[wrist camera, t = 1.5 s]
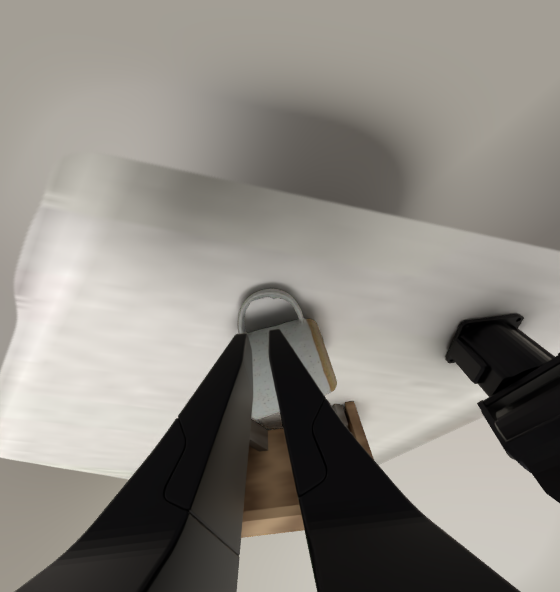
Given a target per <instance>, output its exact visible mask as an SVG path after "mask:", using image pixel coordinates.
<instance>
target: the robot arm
mask: <svg viewBox="0 0 560 592" xmlns="http://www.w3.org/2000/svg"><path fill="white" fill-rule="evenodd" d="M523 319H524V317H523V316H521V315H520V314H514V315H506V316H498V317H491V318H483V319H475V320H468V321H464V322H462V323H461V324H460V326H459V328H458V330H457V333H456V335H455V337H454V340H453V342H452V344H451V347H450V349H449V351H448V354H447V356H446V359H445V360H446V361H447V362H448V363H457V365H458V366H459V367H460V368H461V369H462V370H463V372H464V373H465V374H466V375H467V376H468V377H469V379H470V380H471V381H472V382H473V383H474V384H478V385H479V386H480V387H481V388H482V389H483V390H484V391H485V393H486V394H487V395H488V396H489V398H487V399H485V400H484V401H483V400H481V401H480V402H478V403H477V404H478V406H479V407H480V409H481V412H482V414H483V415H484V417H485V418H486V420H487V422H488V424H489V425H490V427H491V428H492V430H493V432H494V433H495V435H496V437H497V438H498V440H499V441H500V443H501V445H502V446H503V448H504V449H505V451H506V453H507V454H508V455H509V457H510V458H512V459H515V460H516V461H517V462H518V463H520V465H521V466H523V467H524V468H525V469H526V470H528V471H529V472H530V473H532V474H533V476H534V477H535V478H536V480H537V481H538V483H539V484H540V486H541V487H542V488H543V490H544V491H545V492H546V493H547V494H548V495H549V496H551V497H552V498H553V499H555V500H556V501H557V502H559V503H560V353H558V356H556V357H555V356H553V355H552V354H551V353H549V352H548V351H547V350H545V349H544V348H543V347H541V346H540V345H539V344H537V343H536V342H535V341H534V340H532V339H531V338H530V337H528V336H527V335H526V334H524V333H523V332H522V331H520V330H519V329H518V327H519V325H520V324H521V322H522V321H523ZM268 356H269V362H270V367H271V372H272V377H273V381H274V386H275V391H276V396H277V400H278V405H279V410H280V415H281V420H282V424H283V429H284V434H285V439H286V443H287V448H288V453H289V458H290V463H291V467H292V472H293V477H294V482H295V487H296V491H297V496H298V501H299V506H300V510H301V515H302V520H303V525H304V530H305V534H306V539H307V544H308V549H309V554H310V558H311V563H312V568H313V573H314V578H315V583H316V588H317V592H520V591H519V590H518V589H516V588H515V587H514V586H512V585H511V584H510V583H509V582H508V581H506V580H505V579H504V578H502V577H501V576H500V575H499V574H497V573H496V572H495V571H494V570H492V569H491V568H490V567H489V566H487V565H486V564H485V563H484V562H482V561H481V560H480V559H479V558H477V557H476V556H475V555H474V554H472V553H471V552H470V551H469V550H467V549H466V548H465V547H464V546H462V545H461V544H460V543H458V542H457V541H456V540H454V539H453V538H452V537H451V536H450V535H448V534H447V533H446V532H445V531H443V530H442V529H441V528H440V527H438V526H437V525H436V524H434V523H433V522H432V521H431V520H430V519H428V518H427V517H426V516H425V515H424V514H423V513H421V512H420V511H419V510H418V509H417V508H416V507H415V506H414V505H413V504H412V503H411V502H410V501H409V500H408V499H407V498H406V497H405V495H404V494H403V493H402V492H401V491H400V490H399V489H398V488H397V487H396V486H395V484H394V483H393V482H392V481H391V480H390V478H389V477H388V476H387V475H386V474H385V473H384V471H383V470H382V469H381V468H380V467H379V465H378V464H377V463H376V462H375V461H374V460H373V458H372V457H371V456H370V455H369V454H368V453H367V451H366V450H365V449H364V448H363V447H362V446H361V444H360V443H359V442H358V441H357V440H356V438H355V437H354V436H353V435H352V433H351V432H350V431H349V430H348V428H347V427H346V426H345V425H344V423H343V422H342V420H341V419H340V418H339V416H338V415H337V413H336V412H335V411H334V409H333V408H332V406H331V405H330V403H329V402H328V400H327V399H326V398H325V396H324V394H323V393H322V391H321V390H320V388H319V387H318V385H317V384H316V382H315V381H314V379H313V378H312V376H311V375H310V373H309V372H308V370H307V369H306V367H305V366H304V364H303V363H302V361H301V360H300V358H299V357H298V355H297V354H296V352H295V351H294V349H293V348H292V346H291V345H290V343H289V342H288V340H287V339H286V337H285V336H284V334H283V333H282V331H281V330H280V329H271V330H269V332H268ZM252 406H253V362H252V349H251V345H250V341H249V337H248V334H247V333H241V334H236V335H235V336H234V337H233V339H232V340H231V342H230V343H229V344H228V346H227V347H226V349H225V350H224V352H223V353H222V354H221V356H220V357H219V359H218V360H217V361H216V363H215V364H214V366H213V367H212V369H211V370H210V371H209V373H208V374H207V376H206V377H205V379H204V380H203V381H202V383H201V384H200V386H199V387H198V388H197V390H196V391H195V393H194V394H193V396H192V397H191V398H190V400H189V401H188V403H187V404H186V405H185V407H184V408H183V410H182V411H181V413H180V414H179V415H178V418H179V419H178V418H176V419H175V421H174V422H173V424H172V425H171V427H170V428H169V429H168V431H167V432H166V434H165V435H164V436H163V438H162V439H161V440H160V442H159V443H158V444H157V446H156V447H155V448H154V450H153V451H152V452H151V453H150V455H149V456H148V457H147V458H146V460H145V461H144V462H143V463H142V465H141V466H140V467H139V468H138V470H137V471H136V472H135V473H134V474H133V476H132V477H131V478H130V479H129V480H128V482H127V483H126V484H125V485H124V487H123V488H122V489H121V490H120V491H119V493H118V494H117V495H116V496H115V497H114V499H113V500H112V501H111V502H110V503H109V505H108V506H107V507H106V508H105V509H104V511H103V512H102V513H101V514H100V515H99V517H98V518H97V519H96V520H95V521H94V523H93V524H92V525H91V526H90V527H89V528H88V529H87V531H86V532H85V533H84V534H83V535H82V536H81V537H80V538H79V539H78V540H77V541H76V542H75V543H74V544H73V545H72V546H71V547H70V548H69V549H68V550H67V551H66V552H65V553H63V554H62V555H61V556H60V557H59V558H58V559H57V560H56V561H54V562H53V563H52V564H50V565H49V566H48V567H47V568H45V569H44V570H43V571H41V572H40V573H38V574H37V575H36V576H35V577H33V578H32V579H31V580H29V581H28V582H27V583H25V584H24V585H23V586H21V587H20V588H19V589H17V590H16V591H15V592H236V590H237V579H238V568H239V554H240V543H241V532H242V521H243V509H244V498H245V486H246V475H247V463H248V452H249V440H250V429H251V417H252Z"/></svg>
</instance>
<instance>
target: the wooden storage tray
mask: <svg viewBox="0 0 560 592" xmlns="http://www.w3.org/2000/svg"><path fill="white" fill-rule="evenodd" d="M332 408H333V409H334V411H335V412H336V413H337V415H338V416H339V418H340V419H341V420H342V422H343V423H344V425H345V426H346V427H347V428H348V430H349V431H350V432H351V433H352V435H353V436H354V437H355V438H356V440H357V441H358V442H359V443H360V444H361V446H362V447H363V448H364V449H365V450H366V451H367V453H368V454H369V455H370V456H371V457H372V458H373V456H372V453H371V450H370V447H369V444H368V441H367V439H366V436H365V433H364V430H363V427H362V424H361V421H360V418H359V415H358V412H357V410H356V407H355V404H354V401H353V402H345V411H344V409H343V406H342V405H339V404H334V405H333V407H332ZM373 460H374V459H373ZM301 530H304V525H303V520H302V515H301V510H300V506H299V501H298V496H297V491H296V487H295V482H294V477H293V472H292V467H291V463H290V458H289V453H288V448H287V443H286V439H285V434H284V429H283V428H282V429H274V430H267V429H265V428H264V427H262V426H261V425H259V424H258V423H257V422H255V421H254V420H252V419H251V429H250V440H249V452H248V463H247V475H246V486H245V498H244V509H243V521H242V532H241V538H243V537H251V536H260V535H268V534H276V533H285V532H293V531H301Z"/></svg>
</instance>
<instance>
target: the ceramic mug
mask: <svg viewBox="0 0 560 592" xmlns="http://www.w3.org/2000/svg"><path fill="white" fill-rule="evenodd" d="M265 297H270V298H273V299H275V298H280V299H285V300H286V301H288V302H289V303H290V304H291V305H292V306H293V308H294V309H295V311H296V313H297V315H298V320H294V321H290V322H286V323H283V324H280V325H277V326H274V327H269V328H265V329H261V330H257V331H253V332H250V333H247V334H248V337H249V341H250V345H251V349H252V362H253V406H252V418H254V419H261V418H264V417H267V416H270V415H272V414H275V413H278V412H280V410H279V405H278V400H277V396H276V391H275V386H274V381H273V377H272V372H271V367H270V362H269V356H268V332H269V330H271V329H280V330H281V331H282V333H283V334H284V336H285V337H286V339H287V340H288V342H289V343H290V345H291V346H292V348H293V349H294V351H295V352H296V354H297V355H298V357H299V358H300V360H301V361H302V363H303V364H304V366H305V367H306V369H307V370H308V372H309V373H310V375H311V376H312V378H313V379H314V381H315V382H316V384H317V385H318V387H319V388H320V390H321V391H322V393H323V394H324V396H325V395H327V394H329V393H331V392H332V391H334V390H335V388H336V385H337V381H336V377H335V374H334V371H333V368H332V365H331V362H330V359H329V356H328V353H327V350H326V348H325V345H324V342H323V339H322V336H321V333H320V330H319V327H318V325H317V323H316V322H315V321H314V320H312V319H305V318H303V314H302V311H301V309H300V307H299V305H298V304H297V302H296V301H295V299H294V298H293V297H292V296H291V295H289V294H288V293H287V292H284V291H282V290H278V289H273V288H271V289H264V290H260V291H257V292H255V293H253V294H252V295H251V296H249V297H248V298H247V299H246V300H245V302H244V303H243V305H242V307H241V309H240V312H239V315H238V330H239V334H241V333H246V331H245V324H244V315H245V311H246V309H247V308H248V306H249V304H250V302H252V301H253V300H256V299H260V298H265Z"/></svg>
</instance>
